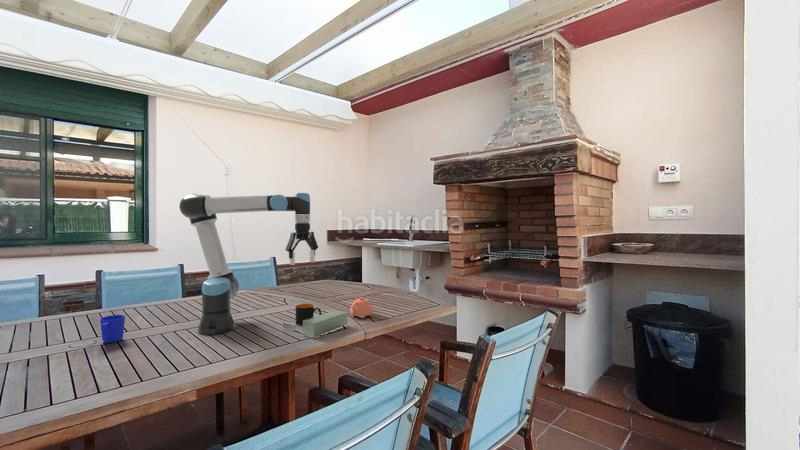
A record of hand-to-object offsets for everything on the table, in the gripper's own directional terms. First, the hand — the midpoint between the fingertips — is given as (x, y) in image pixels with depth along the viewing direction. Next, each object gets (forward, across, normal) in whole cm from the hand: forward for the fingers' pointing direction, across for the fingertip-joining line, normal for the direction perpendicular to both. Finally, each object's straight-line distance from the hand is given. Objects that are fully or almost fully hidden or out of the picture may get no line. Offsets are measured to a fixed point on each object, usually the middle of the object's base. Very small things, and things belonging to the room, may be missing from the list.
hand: (302, 263), depth 190 cm
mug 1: (+29, -70, +38) cm, 85 cm away
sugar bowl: (+29, +20, -23) cm, 42 cm away
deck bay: (+29, -9, -17) cm, 35 cm away
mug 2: (+29, -9, -14) cm, 33 cm away
